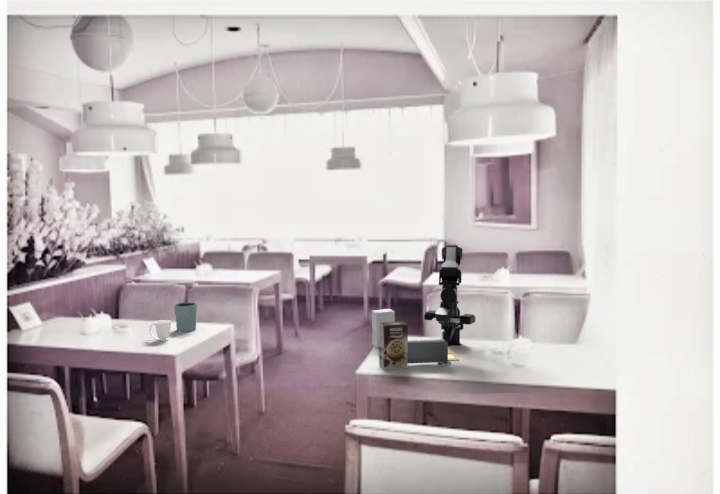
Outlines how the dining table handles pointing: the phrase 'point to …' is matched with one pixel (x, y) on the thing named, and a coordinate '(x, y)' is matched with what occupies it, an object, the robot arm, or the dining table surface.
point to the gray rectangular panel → (427, 351)
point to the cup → (162, 329)
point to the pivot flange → (444, 363)
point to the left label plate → (452, 357)
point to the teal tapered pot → (185, 316)
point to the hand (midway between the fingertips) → (449, 339)
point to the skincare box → (378, 317)
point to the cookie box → (393, 345)
